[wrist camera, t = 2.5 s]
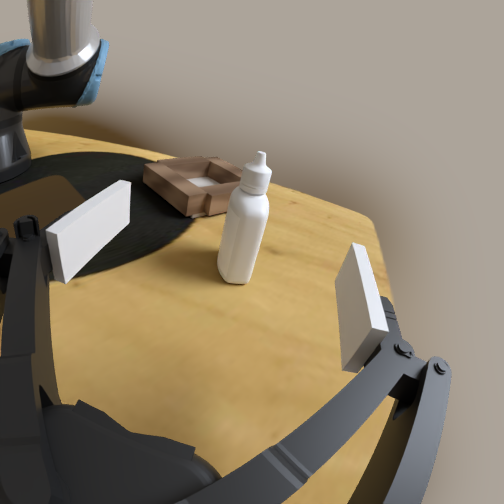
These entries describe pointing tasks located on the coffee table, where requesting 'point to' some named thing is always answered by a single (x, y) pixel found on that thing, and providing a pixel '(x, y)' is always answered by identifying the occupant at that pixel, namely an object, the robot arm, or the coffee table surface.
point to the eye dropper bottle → (245, 222)
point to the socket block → (194, 183)
